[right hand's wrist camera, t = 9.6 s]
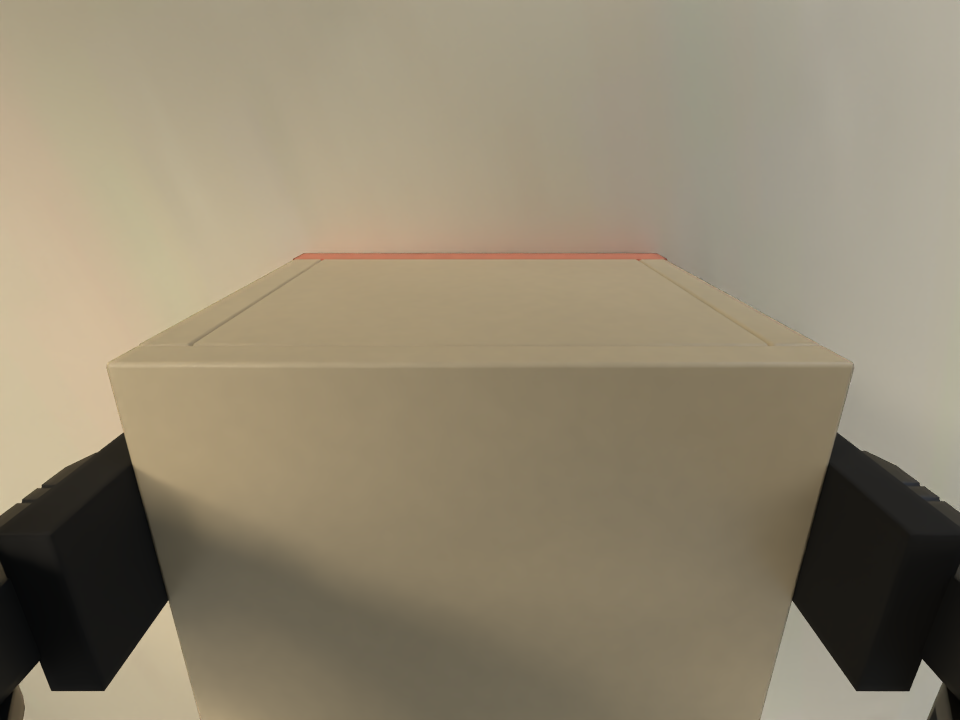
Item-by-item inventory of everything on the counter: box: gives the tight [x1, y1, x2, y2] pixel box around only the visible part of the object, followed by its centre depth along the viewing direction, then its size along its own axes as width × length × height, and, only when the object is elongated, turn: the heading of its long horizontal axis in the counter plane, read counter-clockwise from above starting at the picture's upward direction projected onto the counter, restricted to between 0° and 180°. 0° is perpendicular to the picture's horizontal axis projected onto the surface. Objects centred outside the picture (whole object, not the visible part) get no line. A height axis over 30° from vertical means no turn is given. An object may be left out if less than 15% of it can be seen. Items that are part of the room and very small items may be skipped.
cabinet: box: [107, 253, 854, 720], centre depth 15 cm, size 18×11×9 cm, turn 0°
